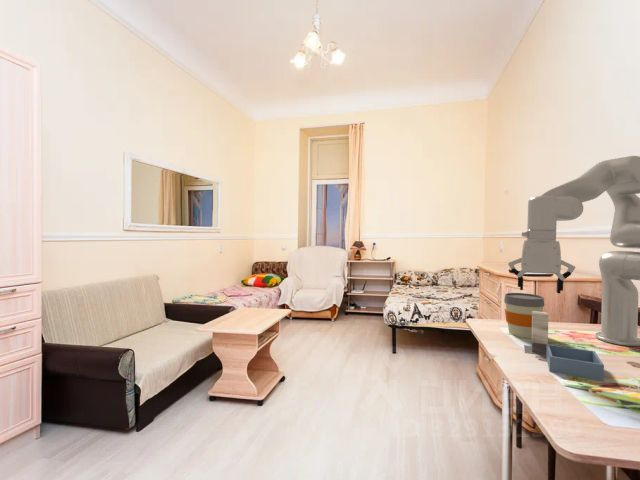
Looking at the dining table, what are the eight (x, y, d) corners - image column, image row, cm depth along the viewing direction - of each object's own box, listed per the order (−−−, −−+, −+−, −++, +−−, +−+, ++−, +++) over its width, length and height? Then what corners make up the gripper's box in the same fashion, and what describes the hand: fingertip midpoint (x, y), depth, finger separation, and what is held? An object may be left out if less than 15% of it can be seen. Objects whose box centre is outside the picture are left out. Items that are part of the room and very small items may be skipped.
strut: (531, 348, 107) (532, 310, 107) (546, 350, 105) (547, 312, 105) (532, 351, 103) (532, 313, 103) (547, 354, 101) (548, 315, 101)
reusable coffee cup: (535, 332, 126) (536, 293, 126) (550, 343, 114) (551, 300, 114) (499, 330, 129) (499, 292, 129) (509, 340, 117) (510, 298, 117)
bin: (546, 360, 99) (546, 344, 99) (594, 368, 93) (594, 351, 93) (549, 374, 89) (549, 356, 89) (603, 384, 84) (603, 365, 83)
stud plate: (524, 348, 110) (524, 337, 110) (553, 352, 106) (553, 341, 106) (524, 355, 103) (524, 344, 103) (556, 361, 99) (556, 349, 99)
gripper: (509, 235, 104) (507, 290, 105) (578, 236, 96) (576, 296, 96) (509, 235, 111) (507, 286, 111) (574, 236, 102) (572, 292, 102)
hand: (539, 291), depth 104 cm, fingers open, 9 cm apart
